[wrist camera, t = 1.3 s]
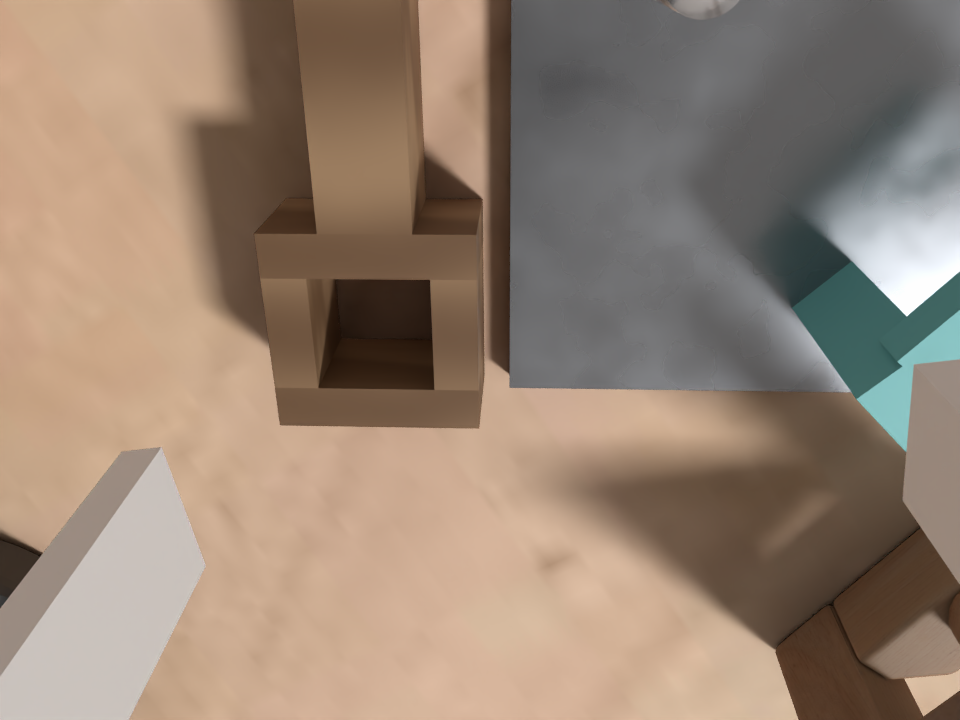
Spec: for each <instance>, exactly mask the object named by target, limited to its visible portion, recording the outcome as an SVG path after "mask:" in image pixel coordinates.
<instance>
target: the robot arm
mask: <svg viewBox="0 0 960 720" xmlns="http://www.w3.org/2000/svg"><path fill="white" fill-rule="evenodd" d="M902 500H903V502H904V503H905V505H906V506H907V508H908V509H909V511H910V512H911V514H912V515H913V517H914V518H915V520H916V521H917V522H918V524H919V525H920V527H921V528H922V530H923V531H924V533H925V534H926V536H927V537H928V539H929V540H930V542H931V543H932V545H933V546H934V547H935V549H936V550H937V552H938V553H939V555H940V556H941V558H942V559H943V561H944V562H945V564H946V565H947V567H948V568H949V570H950V571H951V572H952V574H953V575H954V577H955V578H956V580H957V581H958V583H959V584H960V359H958V360H949V361H940V362H931V363H922V364H914V367H913V379H912V391H911V403H910V415H909V427H908V439H907V451H906V462H905V474H904V486H903V498H902ZM205 566H206V565H205V562H204V560H203V557H202V554H201V552H200V549H199V546H198V544H197V541H196V538H195V535H194V533H193V530H192V527H191V525H190V522H189V519H188V517H187V514H186V511H185V509H184V506H183V503H182V501H181V498H180V495H179V493H178V490H177V487H176V484H175V482H174V479H173V476H172V474H171V471H170V468H169V466H168V463H167V460H166V458H165V455H164V452H163V450H162V447H159V448H150V449H141V450H132V451H123V452H121V453H120V455H119V456H118V457H117V458H116V460H115V461H114V462H113V464H112V465H111V466H110V468H109V469H108V470H107V471H106V473H105V474H104V475H103V477H102V478H101V479H100V480H99V482H98V483H97V484H96V486H95V487H94V488H93V489H92V491H91V492H90V493H89V495H88V496H87V497H86V498H85V500H84V501H83V502H82V504H81V505H80V506H79V508H78V509H77V510H76V511H75V513H74V514H73V515H72V517H71V518H70V519H69V520H68V522H67V523H66V524H65V526H64V527H63V528H62V529H61V531H60V532H59V533H58V535H57V536H56V537H55V538H54V540H53V541H52V542H51V544H50V545H49V546H48V547H47V549H46V550H45V551H44V553H43V554H42V555H41V557H40V556H38V555H36V554H34V553H32V552H30V551H27V550H25V549H23V548H21V547H18V546H16V545H13V544H11V543H8V542H5V541H2V540H0V720H129V718H130V716H131V714H132V712H133V710H134V708H135V706H136V704H137V702H138V700H139V698H140V696H141V694H142V692H143V690H144V688H145V686H146V684H147V682H148V680H149V678H150V676H151V674H152V672H153V670H154V668H155V666H156V664H157V662H158V660H159V658H160V656H161V654H162V652H163V650H164V648H165V646H166V644H167V642H168V640H169V638H170V636H171V634H172V632H173V630H174V628H175V626H176V624H177V622H178V620H179V618H180V616H181V614H182V612H183V610H184V608H185V606H186V604H187V602H188V600H189V598H190V596H191V594H192V592H193V590H194V588H195V586H196V584H197V582H198V580H199V578H200V576H201V574H202V572H203V570H204V568H205Z"/></svg>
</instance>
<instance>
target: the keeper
mask: <svg viewBox="0 0 960 720" xmlns="http://www.w3.org/2000/svg"><path fill="white" fill-rule="evenodd" d="M792 309H793V310H794V312H795V313H796V315H797V316H798V318H799V319H800V320H801V322H802V323H803V325H804V326H805V327H806V329H807V330H808V332H809V333H810V334H811V336H812V337H813V339H814V340H815V342H816V343H817V344H818V346H819V347H820V349H821V350H822V351H823V353H824V354H825V356H826V357H827V359H828V360H829V361H830V363H831V364H832V366H833V367H834V368H835V370H836V371H837V373H838V374H839V375H840V377H841V378H842V380H843V381H844V383H845V384H846V385H847V387H848V388H849V390H850V391H851V392H852V394H853V395H854V397H855V398H856V399H857V400H858V402H859V403H860V404H861V405H862V406H863V407H864V408H865V409H866V410H867V411H868V412H869V413H870V414H871V415H872V416H873V418H874V419H875V420H876V421H877V422H878V423H879V424H880V425H881V426H882V427H883V428H884V429H885V430H886V431H887V432H888V434H889V435H890V436H891V437H892V438H893V439H894V440H895V441H896V442H897V443H898V444H899V445H900V446H901V447H902V448H903V449H904V451H905V452H906V451H907V439H908V427H909V415H910V403H911V391H912V379H913V367H914V364H922V363H931V362H940V361H949V360H958V359H960V272H958V273H957V274H956V275H955V276H954V277H952V278H951V279H950V280H949V281H948V282H947V283H945V284H944V285H943V286H942V287H941V288H939V289H938V290H937V291H936V292H935V293H934V294H932V295H931V296H930V297H929V298H928V299H926V300H925V301H924V302H923V303H922V304H921V305H919V306H918V307H917V308H916V309H915V310H913V311H912V312H911V313H910V314H909V315H908V316H906V315H905V314H904V313H903V312H902V311H901V310H900V309H899V308H898V307H897V306H896V305H895V304H894V303H893V302H892V301H891V300H890V299H889V298H888V297H887V296H886V295H885V294H884V293H883V292H882V291H881V290H880V289H879V288H878V287H877V286H876V285H875V284H874V283H873V282H872V281H871V280H870V279H869V278H868V277H867V276H866V275H865V274H864V273H863V272H862V271H861V270H860V269H859V268H858V267H857V266H856V265H855V264H854V263H853V262H852V261H851V262H850V263H849V264H848V265H846V266H845V267H844V268H842V269H841V270H840V271H839V272H837V273H836V274H835V275H833V276H832V277H831V278H830V279H828V280H827V281H826V282H824V283H823V284H822V285H821V286H819V287H818V288H817V289H815V290H814V291H813V292H812V293H810V294H809V295H808V296H806V297H805V298H804V299H803V300H801V301H800V302H799V303H797V304H796V305H795V306H794V307H792Z"/></svg>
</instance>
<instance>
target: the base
mask: <svg viewBox="0 0 960 720" xmlns="http://www.w3.org/2000/svg"><path fill="white" fill-rule="evenodd" d="M851 261H852V262H853V263H854V264H855V265H856V266H857V267H858V268H859V269H860V270H861V271H862V272H863V273H864V274H865V275H866V276H867V277H868V278H869V279H870V280H871V281H872V282H873V283H874V284H875V285H876V286H877V287H878V288H879V289H880V290H881V291H882V292H883V293H884V294H885V295H886V296H887V297H888V298H889V299H890V300H891V301H892V302H893V303H894V304H895V305H896V306H897V307H898V308H899V309H900V310H901V311H902V312H903V313H904V314H905V315H906V316H908V315H909V314H910V313H911V312H912V311H913V310H915V309H916V308H917V307H918V306H919V305H921V304H922V303H923V302H924V301H925V300H926V299H928V298H929V297H930V296H931V295H932V294H934V293H935V292H936V291H937V290H938V289H939V288H941V287H942V286H943V285H944V284H945V283H947V282H948V281H949V280H950V279H951V278H952V277H954V276H955V275H956V274H957V273H958V272H960V0H511V185H510V388H571V389H643V390H715V391H787V392H851V391H850V390H849V388H848V387H847V385H846V384H845V383H844V381H843V380H842V378H841V377H840V375H839V374H838V373H837V371H836V370H835V368H834V367H833V366H832V364H831V363H830V361H829V360H828V359H827V357H826V356H825V354H824V353H823V351H822V350H821V349H820V347H819V346H818V344H817V343H816V342H815V340H814V339H813V337H812V336H811V334H810V333H809V332H808V330H807V329H806V327H805V326H804V325H803V323H802V322H801V320H800V319H799V318H798V316H797V315H796V313H795V312H794V310H793V309H792V307H794V306H795V305H796V304H797V303H799V302H800V301H801V300H803V299H804V298H805V297H806V296H808V295H809V294H810V293H812V292H813V291H814V290H815V289H817V288H818V287H819V286H821V285H822V284H823V283H824V282H826V281H827V280H828V279H830V278H831V277H832V276H833V275H835V274H836V273H837V272H839V271H840V270H841V269H842V268H844V267H845V266H846V265H848V264H849V263H850V262H851Z"/></svg>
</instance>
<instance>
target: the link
mask: <svg viewBox="0 0 960 720" xmlns="http://www.w3.org/2000/svg"><path fill="white" fill-rule="evenodd" d="M293 6H294V15H295V25H296V35H297V45H298V55H299V64H300V74H301V84H302V94H303V103H304V113H305V123H306V133H307V143H308V152H309V162H310V172H311V182H312V192H313V199H305V198H286V199H285V200H284V202H283V203H282V204H281V205H280V206H279V207H278V208H277V209H276V210H275V211H274V212H273V214H272V215H271V216H270V217H269V218H268V219H267V220H266V221H265V222H264V223H263V224H262V226H261V227H260V228H259V229H258V230H257V231H256V232H255V233H254V238H255V246H256V253H257V260H258V267H259V275H260V282H261V289H262V297H263V304H264V311H265V318H266V326H267V333H268V340H269V348H270V355H271V362H272V370H273V377H274V384H275V391H276V399H277V406H278V413H279V421H280V425H296V426H357V427H419V428H479V424H480V414H481V404H482V394H483V384H484V293H483V199H426V187H425V162H424V138H423V114H422V90H421V65H420V41H419V17H418V0H293ZM336 279H383V280H430V291H431V316H432V340H425V339H341V331H340V321H339V310H338V299H337V289H336Z"/></svg>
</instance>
